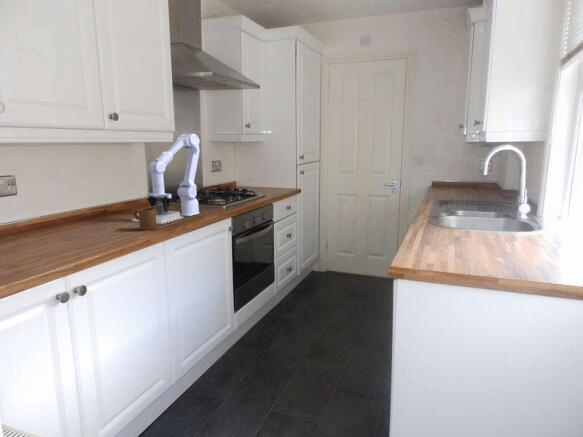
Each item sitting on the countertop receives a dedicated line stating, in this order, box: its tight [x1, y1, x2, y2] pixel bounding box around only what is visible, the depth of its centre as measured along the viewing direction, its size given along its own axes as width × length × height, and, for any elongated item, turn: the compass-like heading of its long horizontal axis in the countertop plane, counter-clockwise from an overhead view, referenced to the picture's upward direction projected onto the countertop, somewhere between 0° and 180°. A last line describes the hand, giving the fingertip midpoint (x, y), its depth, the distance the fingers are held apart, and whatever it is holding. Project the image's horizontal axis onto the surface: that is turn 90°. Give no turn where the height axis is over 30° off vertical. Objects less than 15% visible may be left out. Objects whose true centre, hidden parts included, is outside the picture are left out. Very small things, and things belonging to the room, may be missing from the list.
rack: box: [131, 210, 184, 225], centre depth 215 cm, size 16×20×4 cm
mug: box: [132, 207, 158, 232], centre depth 193 cm, size 12×8×9 cm, turn 66°
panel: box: [153, 203, 167, 215], centre depth 214 cm, size 9×2×7 cm, turn 155°
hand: (160, 211), depth 214 cm, fingers open, 7 cm apart
